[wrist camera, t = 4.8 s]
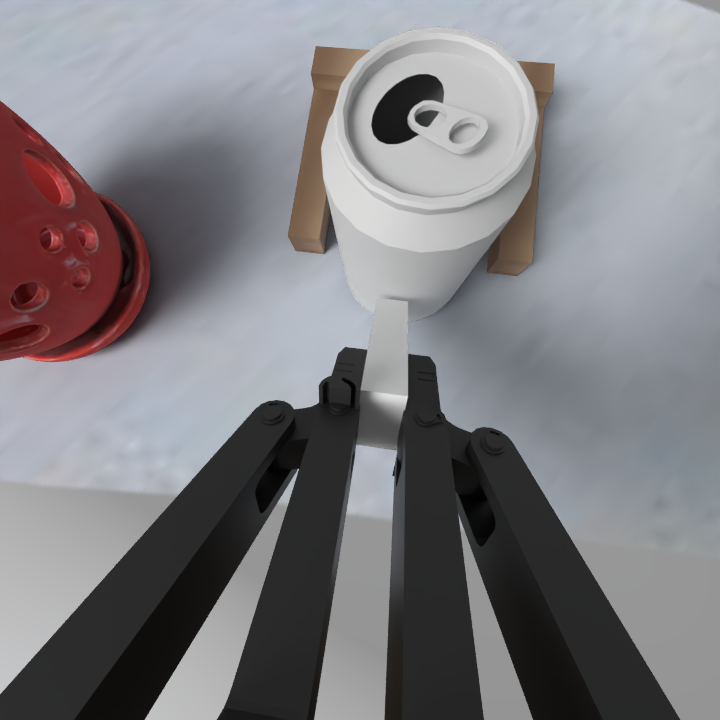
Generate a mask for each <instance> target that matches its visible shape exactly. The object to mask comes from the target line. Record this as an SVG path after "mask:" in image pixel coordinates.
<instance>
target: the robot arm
mask: <svg viewBox="0 0 720 720" xmlns="http://www.w3.org/2000/svg"><path fill="white" fill-rule="evenodd" d="M356 445H363V446H370V447H377V448H384V449H392V450H396V449H397V457H396V462H395V466H394V471H393V475H392V476H395V478H394V502H393V527H392V551H391V575H390V600H389V624H388V648H387V672H386V696H385V720H484V717H483V709H482V701H481V694H480V685H479V677H478V669H477V662H476V653H475V645H474V637H473V629H472V621H471V613H470V606H469V597H468V589H467V581H466V573H465V565H464V557H463V549H462V540H461V532H460V524H459V516H460V519H461V522H462V525H463V527H464V530H465V533H466V535H467V538H468V541H469V544H470V546H471V549H472V552H473V555H474V557H475V560H476V563H477V566H478V569H479V571H480V574H481V577H482V580H483V583H484V585H485V588H486V591H487V594H488V596H489V599H490V602H491V605H492V607H493V610H494V613H495V616H496V618H497V621H498V624H499V627H500V629H501V632H502V635H503V638H504V640H505V643H506V646H507V649H508V651H509V654H510V657H511V660H512V663H513V665H514V668H515V671H516V673H517V676H518V679H519V682H520V684H521V687H522V690H523V693H524V696H525V698H526V701H527V704H528V707H529V709H530V712H531V715H532V718H533V720H680V718H679V717H678V715H677V714H676V712H675V710H674V709H673V707H672V705H671V704H670V702H669V700H668V699H667V697H666V695H665V694H664V692H663V690H662V689H661V687H660V685H659V684H658V682H657V680H656V679H655V677H654V675H653V674H652V672H651V671H650V669H649V667H648V666H647V664H646V662H645V661H644V659H643V657H642V656H641V654H640V652H639V651H638V649H637V648H636V646H635V644H634V643H633V641H632V639H631V638H630V636H629V634H628V632H627V631H626V629H625V628H624V626H623V624H622V623H621V621H620V619H619V618H618V616H617V614H616V613H615V611H614V610H613V608H612V606H611V604H610V603H609V601H608V600H607V598H606V596H605V595H604V593H603V591H602V590H601V588H600V586H599V585H598V583H597V581H596V580H595V578H594V576H593V575H592V573H591V571H590V570H589V568H588V567H587V565H586V563H585V561H584V560H583V558H582V556H581V555H580V553H579V551H578V550H577V548H576V547H575V545H574V543H573V542H572V540H571V538H570V537H569V535H568V533H567V532H566V530H565V528H564V527H563V525H562V523H561V522H560V520H559V518H558V517H557V515H556V513H555V512H554V510H553V508H552V507H551V505H550V504H549V502H548V500H547V499H546V497H545V495H544V494H543V492H542V490H541V489H540V487H539V485H538V484H537V482H536V480H535V479H534V477H533V475H532V474H531V472H530V470H529V469H528V467H527V465H526V464H525V462H524V461H523V459H522V457H521V456H520V454H519V452H518V451H517V449H516V447H515V446H514V444H513V443H512V441H511V440H510V439H509V438H508V437H507V436H506V435H505V434H503V433H502V432H500V431H498V430H495V429H493V428H486V427H482V428H478V429H476V430H475V431H473V432H472V433H470V432H468V431H465V430H463V429H460V428H458V427H456V426H454V425H452V424H451V423H450V422H448V421H447V420H446V418H445V415H444V414H443V413H442V412H441V409H440V401H439V392H438V383H437V375H436V366H435V364H434V362H433V361H432V359H431V358H430V357H428V356H420V355H412V354H408V301H401V300H392V299H383V298H377V299H376V305H375V311H374V316H373V322H372V328H371V333H370V339H369V345H368V350H364V349H356V348H348V347H345V348H344V349H343V350H342V351H341V352H340V353H338V356H337V359H336V364H335V366H334V370H333V373H332V376H329V377H327V378H325V379H324V380H322V382H321V383H320V385H319V403H318V404H317V405H314V406H312V407H308V408H303V409H295V410H294V409H293V407H292V406H291V405H290V404H288V403H286V402H285V401H279V400H275V401H268V402H266V403H263V404H261V405H260V406H259V407H257V408H256V409H255V410H254V411H253V412H252V413H251V415H250V416H249V417H248V418H247V419H246V420H245V421H244V422H243V423H242V425H241V426H240V427H239V428H238V429H237V430H236V431H235V432H234V434H233V435H232V436H231V437H230V438H229V439H228V440H227V441H226V442H225V444H224V445H223V446H222V447H221V448H220V449H219V450H218V451H217V453H216V454H215V455H214V456H213V457H212V458H211V459H210V460H209V462H208V463H207V464H206V465H205V466H204V467H203V468H202V469H201V470H200V472H199V473H198V474H197V475H196V476H195V477H194V478H193V479H192V481H191V482H190V483H189V484H188V485H187V486H186V487H185V488H184V489H183V491H182V492H181V493H180V494H179V495H178V496H177V497H176V498H175V500H174V501H173V502H172V503H171V504H170V505H169V506H168V507H167V509H166V510H165V511H164V512H163V513H162V514H161V515H160V516H159V517H158V519H157V520H156V521H155V522H154V523H153V524H152V525H151V527H149V529H148V530H147V531H146V532H145V533H144V534H143V536H142V537H141V538H140V539H139V540H138V541H137V542H136V543H135V544H134V546H133V547H132V548H131V549H130V550H129V551H128V552H127V553H126V554H125V555H124V557H123V558H122V559H121V560H120V561H119V562H118V563H117V564H116V566H115V567H114V568H113V569H112V570H111V571H110V572H109V573H108V574H107V576H106V577H105V578H104V579H103V580H102V581H101V582H100V583H99V585H98V586H97V587H96V588H95V589H94V590H93V591H92V593H90V595H89V596H88V597H87V598H86V599H85V600H84V601H83V602H82V604H81V605H80V606H79V607H78V608H77V609H76V611H74V613H73V614H72V615H71V616H70V617H69V618H68V619H67V620H66V621H65V623H64V624H63V625H62V626H61V627H60V628H59V629H58V630H57V632H56V633H55V634H54V635H53V636H52V637H51V638H50V639H49V640H48V642H47V643H46V644H45V645H44V646H43V647H42V648H41V649H40V651H39V652H38V653H37V654H36V655H35V656H34V657H33V658H32V659H31V661H30V662H29V663H28V664H27V665H26V666H25V668H23V670H22V671H21V672H20V673H19V674H18V675H17V676H16V677H15V678H14V680H13V681H12V682H11V683H10V684H9V685H8V686H7V688H6V689H5V690H4V691H3V692H2V693H1V694H0V720H145V718H146V716H147V715H148V713H149V711H150V710H151V708H152V707H153V705H154V703H155V702H156V700H157V699H158V697H159V695H160V694H161V692H162V690H163V689H164V687H165V685H166V684H167V682H168V681H169V679H170V677H171V676H172V674H173V672H174V671H175V669H176V667H177V666H178V664H179V662H180V661H181V659H182V658H183V656H184V654H185V653H186V651H187V649H188V648H189V646H190V645H191V643H192V641H193V640H194V638H195V636H196V635H197V633H198V631H199V630H200V628H201V627H202V625H203V623H204V622H205V620H206V618H207V617H208V615H209V613H210V612H211V610H212V609H213V607H214V605H215V604H216V602H217V600H218V599H219V597H220V596H221V594H222V592H223V591H224V589H225V587H226V586H227V584H228V582H229V581H230V579H231V578H232V576H233V574H234V573H235V571H236V569H237V568H238V566H239V564H240V563H241V561H242V559H243V558H244V556H245V555H246V553H247V551H248V550H249V548H250V546H251V545H252V543H253V542H254V540H255V538H256V536H257V535H258V533H259V532H260V530H261V529H262V527H263V525H264V524H265V522H266V520H267V519H268V517H269V515H270V514H271V512H272V510H273V509H274V507H275V506H276V504H277V502H278V501H279V499H280V497H281V496H282V494H283V493H284V491H285V489H286V488H287V486H288V484H289V483H290V481H291V479H292V478H293V476H294V475H295V473H296V471H297V469H299V471H298V475H297V478H296V481H295V484H294V488H293V491H292V494H291V497H290V501H289V504H288V507H287V511H286V514H285V517H284V520H283V523H282V527H281V530H280V533H279V536H278V540H277V543H276V546H275V549H274V552H273V556H272V559H271V562H270V566H269V569H268V572H267V575H266V579H265V582H264V585H263V588H262V591H261V594H260V598H259V601H258V604H257V608H256V611H255V614H254V617H253V620H252V624H251V627H250V630H249V634H248V637H247V640H246V643H245V646H244V650H243V653H242V656H241V659H240V663H239V666H238V669H237V672H236V675H235V679H234V682H233V685H232V688H231V691H230V694H229V697H228V700H227V702H226V704H225V707H224V709H223V710H222V712H221V714H220V715H219V717H218V719H217V720H314V716H315V710H316V703H317V697H318V691H319V684H320V677H321V671H322V664H323V657H324V652H325V645H326V639H327V632H328V626H329V620H330V613H331V607H332V600H333V594H334V587H335V581H336V574H337V568H338V561H339V555H340V548H341V542H342V536H343V529H344V523H345V516H346V510H347V504H348V497H349V491H350V484H351V478H352V471H353V465H354V458H355V448H356ZM458 514H459V516H458Z"/></svg>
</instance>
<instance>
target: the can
mask: <svg viewBox="0 0 720 720" xmlns="http://www.w3.org/2000/svg"><path fill="white" fill-rule="evenodd" d="M538 122H539V114H538V108H537V102H536V97H535V91H534V88H533V87H532V85H531V83H530V81H529V80H528V78H527V76H526V74H525V73H524V71H523V69H522V68H521V66H520V64H519V63H518V62H517V61H516V60H515V59H513V58H512V57H511V56H510V55H509V54H508V53H507V52H506V51H504V50H503V49H502V48H501V47H500V46H499V45H498V44H496V43H494V42H492V41H490V40H487V39H485V38H483V37H481V36H479V35H476V34H474V33H472V32H470V31H464V30H457V29H451V28H444V27H434V28H426V29H417V30H409V31H407V32H404V33H402V34H400V35H397V36H395V37H392V38H390V39H387V40H385V41H382V42H381V43H379V44H378V45H377V46H375V47H374V48H373V49H372V50H370V51H369V52H368V53H367V54H365V55H364V56H363V57H362V58H360V59H359V60H358V61H357V62H356V63H355V65H354V66H353V68H352V69H351V71H350V72H349V74H348V75H347V76H346V78H345V79H344V81H343V82H342V84H341V86H340V90H339V93H338V97H337V100H336V104H335V108H334V111H333V114H332V115H331V117H330V118H329V121H328V125H327V128H326V132H325V135H324V139H323V143H322V146H321V154H322V168H323V179H324V184H325V188H326V193H327V197H328V201H329V206H330V210H331V215H332V219H333V224H334V228H335V232H336V237H337V241H338V246H339V250H340V255H341V259H342V263H343V268H344V272H345V277H346V280H347V283H348V285H349V287H350V290H351V292H352V294H353V296H354V297H355V298H356V300H357V301H358V302H359V303H360V304H361V305H362V306H363V307H364V309H366V310H367V311H369V312H371V313H373V314H374V311H375V305H376V299H377V298H383V299H392V300H401V301H408V321H418V320H420V319H423V318H425V317H427V316H430V315H432V314H435V313H436V312H437V311H438V310H439V309H440V308H442V307H443V306H444V305H445V304H446V303H447V302H449V300H450V299H451V298H452V296H453V295H454V294H455V292H456V291H457V290H458V288H459V287H460V286H461V284H462V283H463V282H464V280H465V279H466V278H467V276H468V275H469V274H470V272H471V271H472V270H473V268H474V267H475V266H476V264H477V263H478V262H479V260H480V259H481V258H482V256H483V255H484V254H485V252H486V251H487V250H488V248H489V247H490V246H491V244H492V243H493V242H494V240H495V239H496V238H497V236H498V235H499V234H500V232H501V231H502V230H503V228H504V227H505V226H506V224H507V223H508V222H509V220H510V219H511V218H512V216H513V215H514V213H515V212H516V210H517V208H518V207H519V205H520V203H521V202H522V200H523V198H524V196H525V195H526V193H527V191H528V190H529V188H530V186H531V181H532V176H533V170H534V165H535V160H536V151H535V145H534V143H535V138H536V133H537V128H538Z"/></svg>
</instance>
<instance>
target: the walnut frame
mask: <svg viewBox="0 0 720 720" xmlns="http://www.w3.org/2000/svg"><path fill="white" fill-rule="evenodd" d="M369 51H370V50H360V49H346V48H332V47H319V46H316V49H315V54H314V60H313V65H312V71H311V76H312V81H313V86H314V91H313V97H312V103H311V108H310V114H309V120H308V125H307V131H306V136H305V142H304V148H303V153H302V159H301V165H300V170H299V176H298V181H297V187H296V193H295V198H294V204H293V210H292V215H291V221H290V227H289V232H288V237H289V239H290V241H291V243H292V245H293V247H294V248H295V250H296V251H303V252H312V253H320V254H324V252H325V246H326V239H327V233H328V227H329V221H330V215H331V210H330V206H329V201H328V197H327V193H326V188H325V184H324V179H323V168H322V154H321V146H322V143H323V139H324V135H325V132H326V128H327V125H328V121H329V118H330V117H331V115H332V114H333V111H334V108H335V104H336V100H337V97H338V93H339V90H340V86H341V84H342V82H343V81H344V79H345V78H346V76H347V75H348V74H349V72H350V71H351V69H352V68H353V66H354V65H355V63H356V62H357V61H358V60H359V59H360V58H362V57H363V56H364V55H365V54H367V53H368V52H369ZM517 62H518V63H519V64H520V66H521V68H522V69H523V71H524V73H525V74H526V76H527V78H528V80H529V81H530V83H531V85H532V87H533V88H534V91H535V97H536V102H537V108H538V114H539V122H538V128H537V133H536V138H535V143H534V145H535V151H536V160H535V165H534V170H533V176H532V181H531V186H530V188H529V190H528V191H527V193H526V195H525V196H524V198H523V200H522V202H521V203H520V205H519V207H518V208H517V210H516V212H515V213H514V215H513V216H512V218H511V219H510V220H509V222H508V223H507V224H506V226H505V227H504V228H503V230H502V231H501V232H500V234H499V235H498V236H497V238H496V239H495V240H494V242H493V243H492V244H491V246H490V247H489V253H488V263H487V272H488V273H497V274H506V275H514V276H518V275H519V274H520V273H521V272H522V271H523V270H525V269H526V268H527V267H528V266H529V265H530V264H531V263H532V261H533V247H534V234H535V221H536V207H537V194H538V181H539V167H540V154H541V141H542V127H543V114H544V107H545V105H546V103H547V102H548V100H549V98H550V96H551V95H552V93H553V82H554V68H555V64H549V63H536V62H522V61H517Z"/></svg>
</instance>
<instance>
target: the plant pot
mask: <svg viewBox="0 0 720 720" xmlns="http://www.w3.org/2000/svg"><path fill="white" fill-rule="evenodd" d="M149 281H150V260H149V254H148V250H147V246H146V243H145V240H144V238H143V236H142V233H141V232H140V230H139V229H138V227H137V225H136V224H135V222H134V221H133V220H132V218H131V217H130V216H129V215H128V214H127V213H126V212H125V211H124V210H123V209H122V208H121V207H120V206H118V205H117V204H116V203H114V202H113V201H112V200H110V199H108V198H106V197H104V196H102V195H100V194H98V193H95V192H93V190H92V189H91V188H90V186H89V185H88V184H87V183H86V182H85V180H84V179H83V178H82V177H81V176H80V174H79V173H78V172H77V171H76V170H75V169H74V168H73V167H72V166H71V164H70V163H69V162H68V161H67V160H66V159H65V158H64V157H63V156H62V155H61V154H60V153H59V152H58V151H57V150H56V149H55V148H54V147H53V146H52V145H51V144H50V143H49V142H48V141H47V140H45V139H44V138H43V137H42V136H41V135H40V134H39V133H38V132H37V131H36V130H34V129H33V128H32V127H31V126H30V125H29V124H28V123H27V122H25V121H24V120H23V119H22V118H21V117H19V116H18V115H17V114H16V113H15V112H13V111H12V110H11V109H10V108H9V107H7V106H6V105H5V104H4V103H2V102H1V101H0V361H3V360H9V359H15V358H20V357H23V358H27V359H31V360H36V361H43V362H60V361H69V360H74V359H78V358H82V357H85V356H87V355H90V354H92V353H95V352H97V351H98V350H100V349H102V348H104V347H105V346H107V345H109V344H110V343H112V342H113V341H115V340H116V339H117V338H118V337H119V336H120V335H121V334H122V333H124V332H125V331H126V330H127V328H128V327H129V326H130V325H131V324H132V322H133V321H134V320H135V318H136V316H137V315H138V313H139V312H140V310H141V308H142V305H143V303H144V301H145V298H146V294H147V291H148V287H149Z"/></svg>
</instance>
